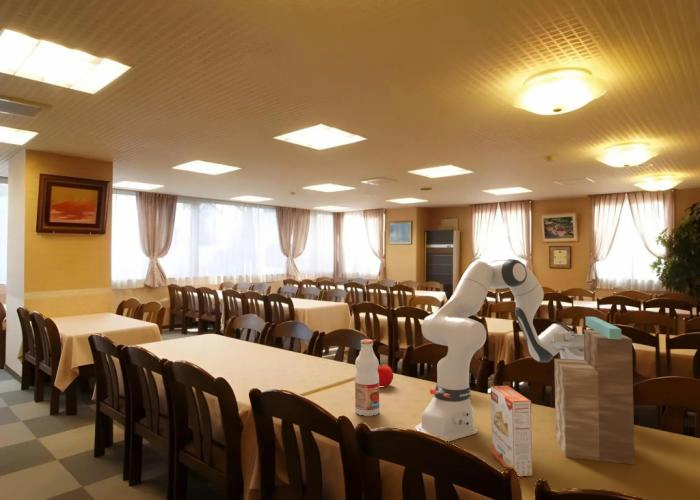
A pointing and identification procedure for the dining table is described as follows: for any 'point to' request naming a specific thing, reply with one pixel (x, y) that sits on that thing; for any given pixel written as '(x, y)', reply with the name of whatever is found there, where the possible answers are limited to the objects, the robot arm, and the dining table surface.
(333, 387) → the dining table surface
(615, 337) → the teal bar
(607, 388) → the step stand
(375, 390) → the fruit juice
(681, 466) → the dining table surface
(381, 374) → the tomato
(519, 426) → the cracker box
